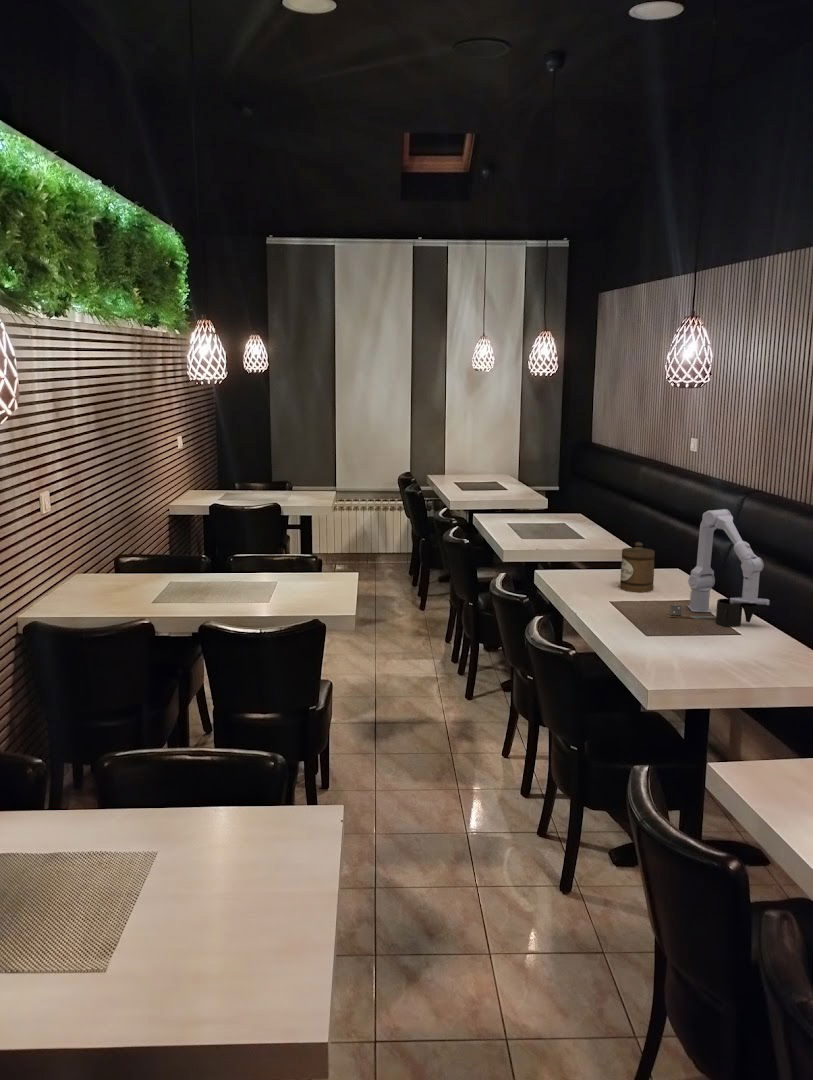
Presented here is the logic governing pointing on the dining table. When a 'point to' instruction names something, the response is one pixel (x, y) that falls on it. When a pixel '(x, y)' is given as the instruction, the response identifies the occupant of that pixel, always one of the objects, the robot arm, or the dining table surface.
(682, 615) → the wooden stick
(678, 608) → the die
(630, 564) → the wooden container
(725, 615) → the mug
